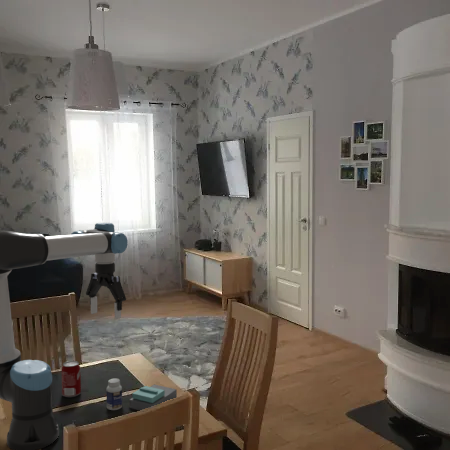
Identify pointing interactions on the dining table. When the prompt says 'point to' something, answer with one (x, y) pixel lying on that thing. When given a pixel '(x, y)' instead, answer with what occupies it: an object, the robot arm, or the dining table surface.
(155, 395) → the teal ridged square block
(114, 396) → the pill bottle
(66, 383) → the soda can
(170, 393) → the socket block
